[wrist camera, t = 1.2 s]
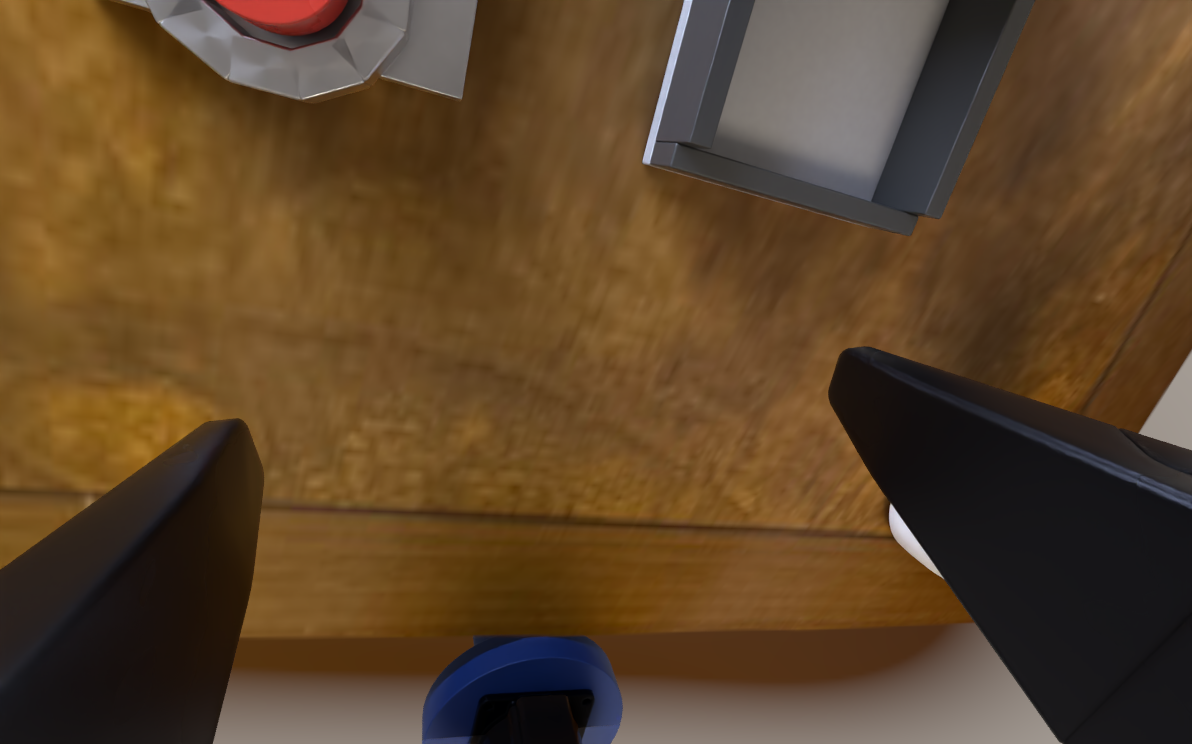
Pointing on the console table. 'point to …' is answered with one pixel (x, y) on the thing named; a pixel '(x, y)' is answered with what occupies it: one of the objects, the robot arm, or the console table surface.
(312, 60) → the button block
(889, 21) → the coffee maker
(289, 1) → the button
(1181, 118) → the console table surface
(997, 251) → the console table surface
